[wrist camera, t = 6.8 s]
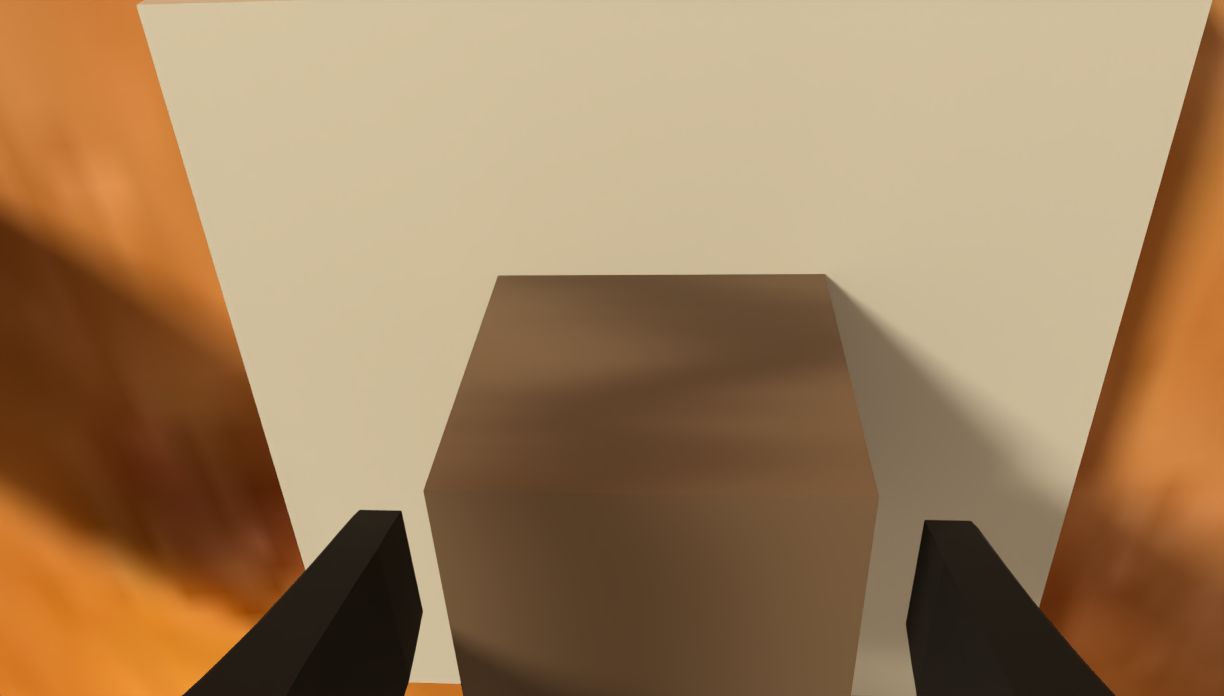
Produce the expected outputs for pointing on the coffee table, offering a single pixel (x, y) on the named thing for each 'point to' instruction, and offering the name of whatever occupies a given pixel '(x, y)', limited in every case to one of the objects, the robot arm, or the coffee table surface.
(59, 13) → the coffee table surface
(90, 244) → the coffee table surface
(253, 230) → the base board
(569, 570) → the walnut block
